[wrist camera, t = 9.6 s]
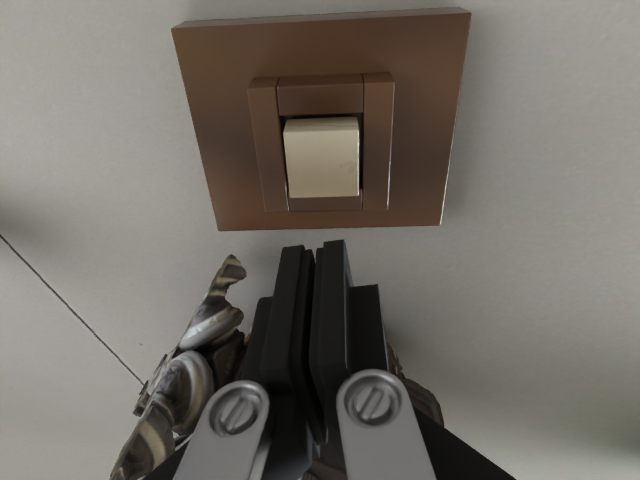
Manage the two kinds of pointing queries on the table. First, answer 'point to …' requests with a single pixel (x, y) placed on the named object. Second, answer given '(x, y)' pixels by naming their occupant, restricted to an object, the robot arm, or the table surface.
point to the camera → (216, 386)
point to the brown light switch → (326, 111)
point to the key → (322, 157)
